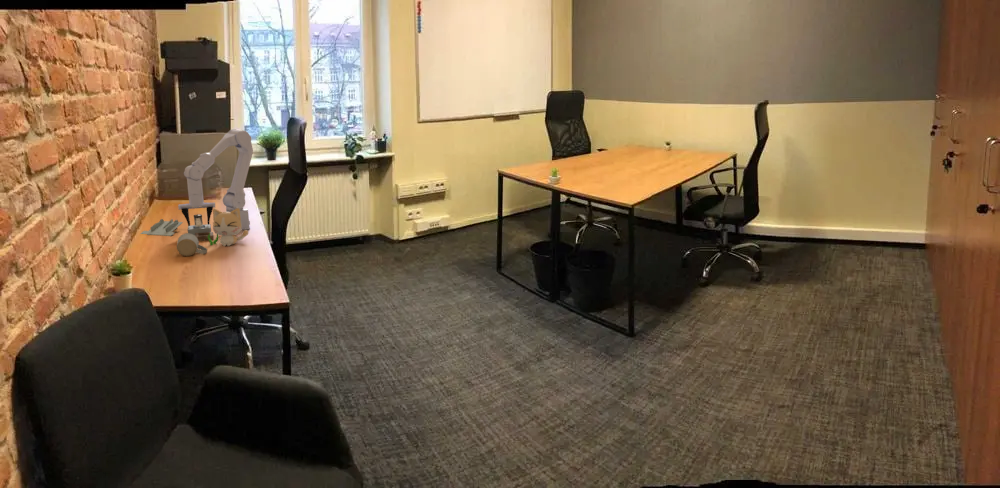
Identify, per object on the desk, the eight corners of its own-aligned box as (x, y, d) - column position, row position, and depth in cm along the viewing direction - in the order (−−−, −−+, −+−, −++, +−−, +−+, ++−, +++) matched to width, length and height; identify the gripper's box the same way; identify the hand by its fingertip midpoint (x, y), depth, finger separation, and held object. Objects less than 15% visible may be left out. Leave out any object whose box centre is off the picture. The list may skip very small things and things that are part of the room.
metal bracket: (156, 216, 312) (187, 217, 310) (160, 227, 315) (190, 229, 313) (137, 232, 300) (168, 233, 298) (141, 243, 303) (172, 245, 301)
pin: (205, 233, 304) (203, 214, 301) (202, 235, 300) (200, 216, 298) (197, 233, 303) (195, 214, 301) (194, 235, 300) (192, 216, 298)
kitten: (204, 247, 281) (201, 211, 277) (212, 241, 290) (209, 206, 287) (243, 247, 282) (239, 210, 278) (249, 241, 292) (246, 206, 288)
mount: (213, 236, 299) (213, 231, 299) (213, 239, 293) (212, 235, 293) (195, 237, 297) (195, 233, 297) (195, 241, 291) (194, 236, 290)
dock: (211, 231, 307) (210, 224, 306) (211, 235, 300) (210, 228, 299) (189, 233, 304) (188, 225, 303) (188, 237, 297) (187, 229, 296)
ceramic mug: (177, 257, 266) (175, 238, 264) (178, 252, 273) (176, 233, 271) (207, 255, 270) (205, 236, 268) (207, 250, 277) (206, 231, 275)
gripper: (214, 191, 304) (217, 221, 307) (177, 193, 299) (181, 224, 302) (213, 193, 297) (217, 225, 301) (176, 195, 292) (180, 227, 296)
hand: (198, 224), depth 301 cm, fingers open, 7 cm apart
